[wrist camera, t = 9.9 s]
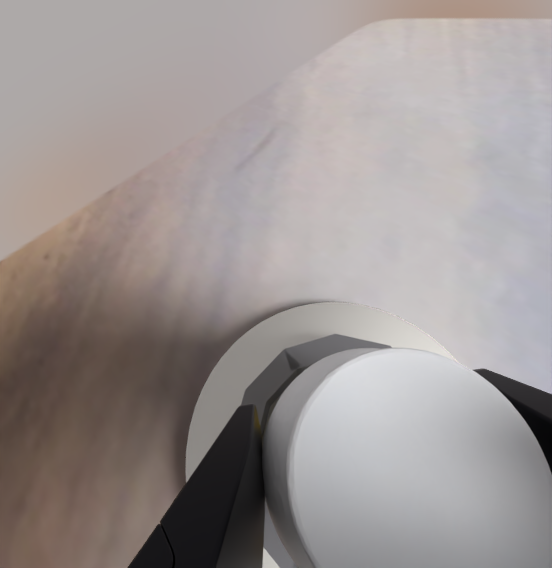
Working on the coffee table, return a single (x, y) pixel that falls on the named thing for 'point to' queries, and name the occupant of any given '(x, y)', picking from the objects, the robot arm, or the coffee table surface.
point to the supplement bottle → (404, 467)
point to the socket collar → (288, 374)
